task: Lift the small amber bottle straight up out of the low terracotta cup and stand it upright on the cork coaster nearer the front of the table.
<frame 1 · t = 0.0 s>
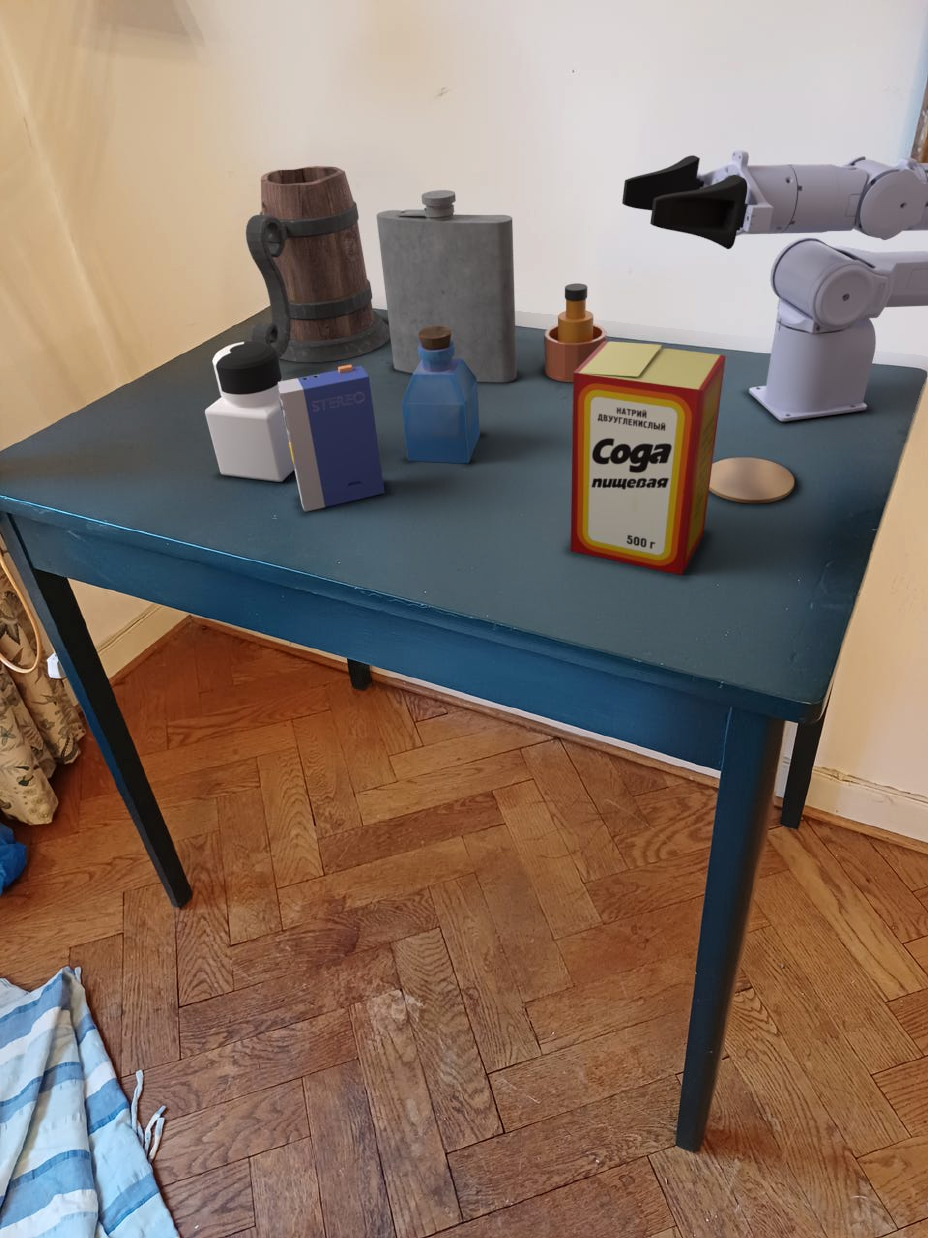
hand: (638, 201, 78), 22 cm above the table, tool horizontal, fingers open, 7 cm apart
medicine bottle: (268, 464, 90), on the table
baking soda box: (637, 544, 75), on the table
tankard: (316, 348, 116), on the table
walkman: (342, 498, 84), on the table
hip flask: (452, 374, 106), on the table
cup: (574, 370, 104), on the table
bottle: (574, 366, 104), resting on cup
coaster: (748, 481, 81), on the table
perfume bottle: (444, 449, 91), on the table
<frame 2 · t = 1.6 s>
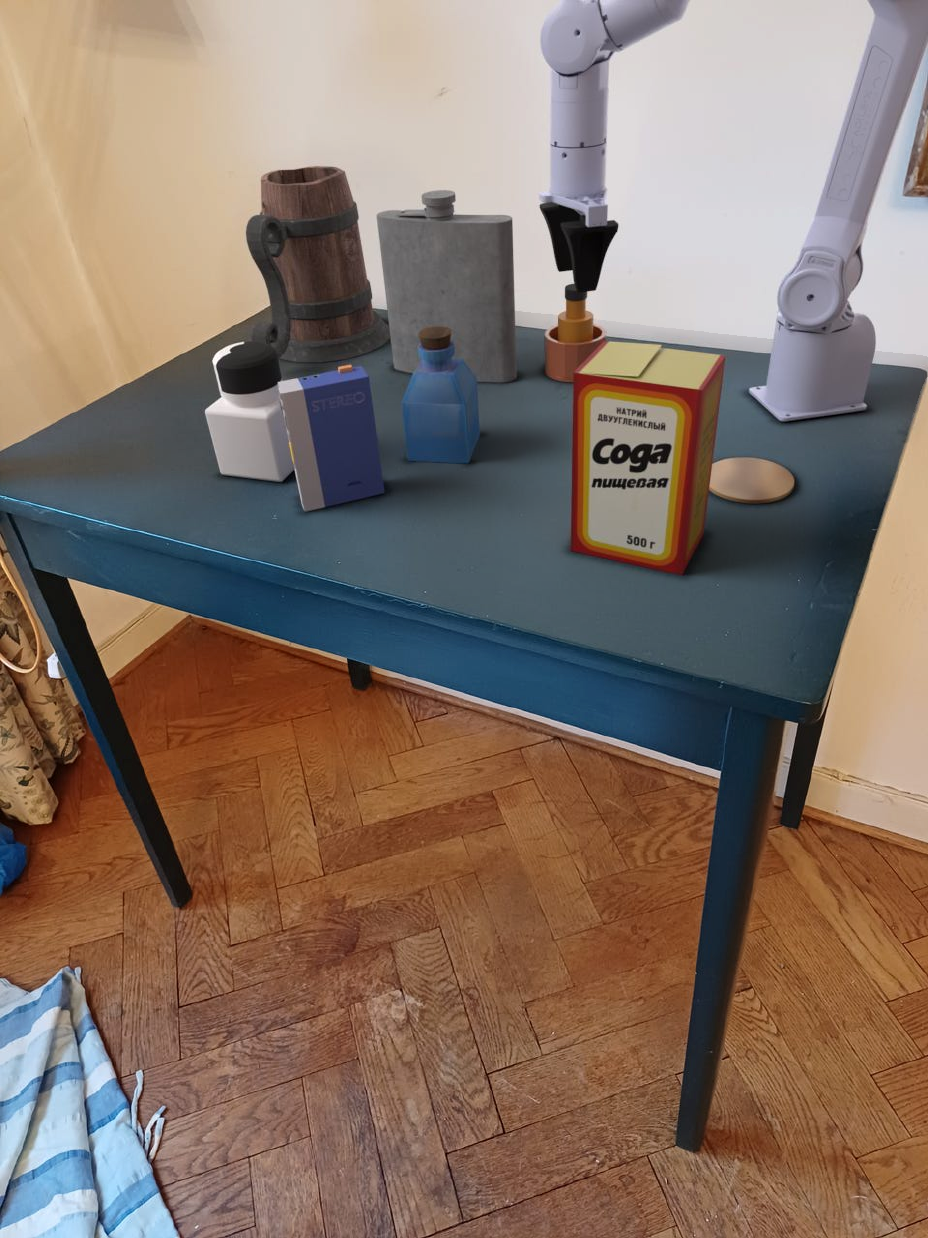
hand: (576, 279, 98), 10 cm above the table, tool pointing down, fingers open, 7 cm apart
nothing on the table moved.
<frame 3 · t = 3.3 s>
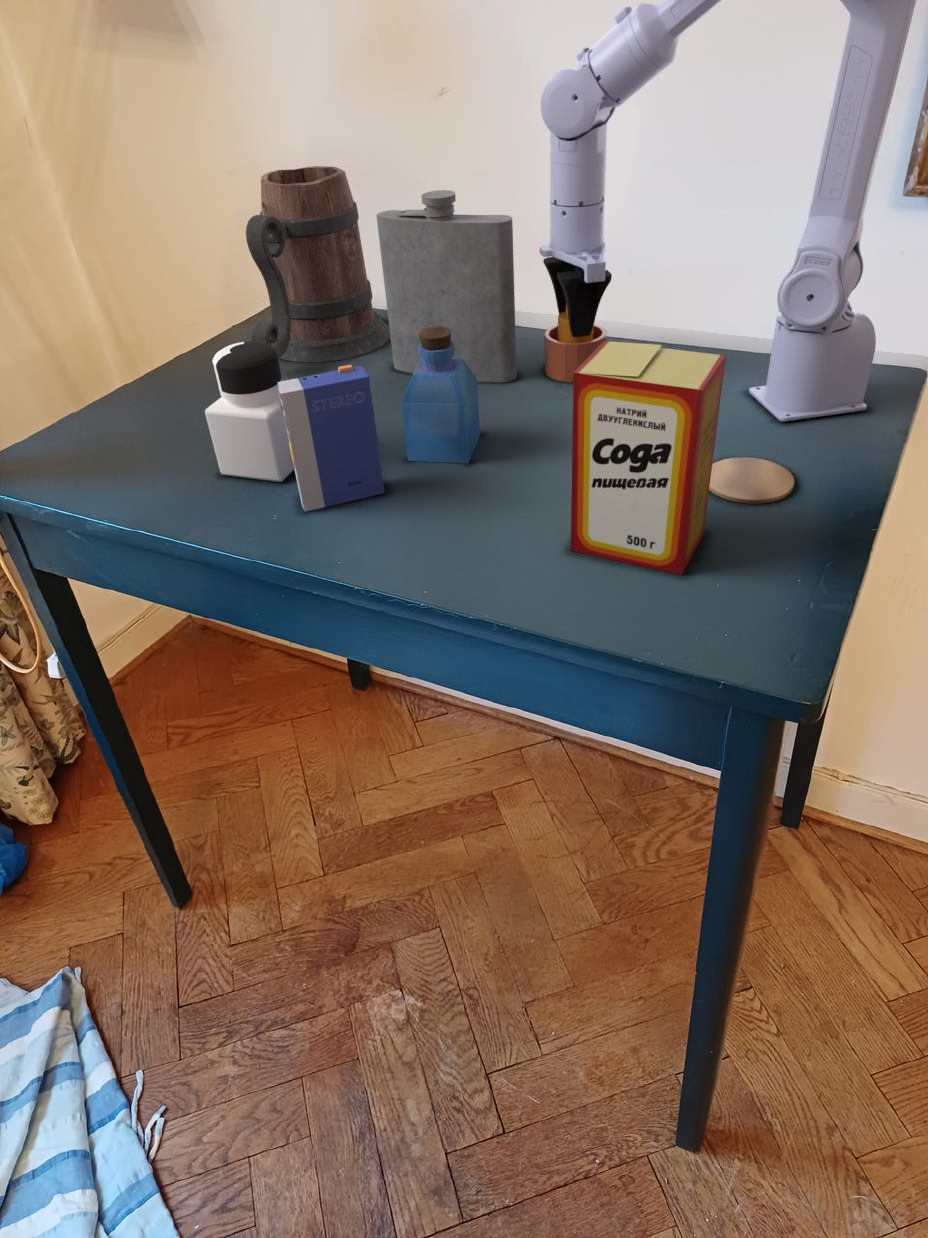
hand: (575, 328, 101), 5 cm above the table, tool pointing down, fingers closed on bottle, 4 cm apart
bottle: (574, 366, 104), point 1 cm above the table, touching cup, gripper
everything else where it was.
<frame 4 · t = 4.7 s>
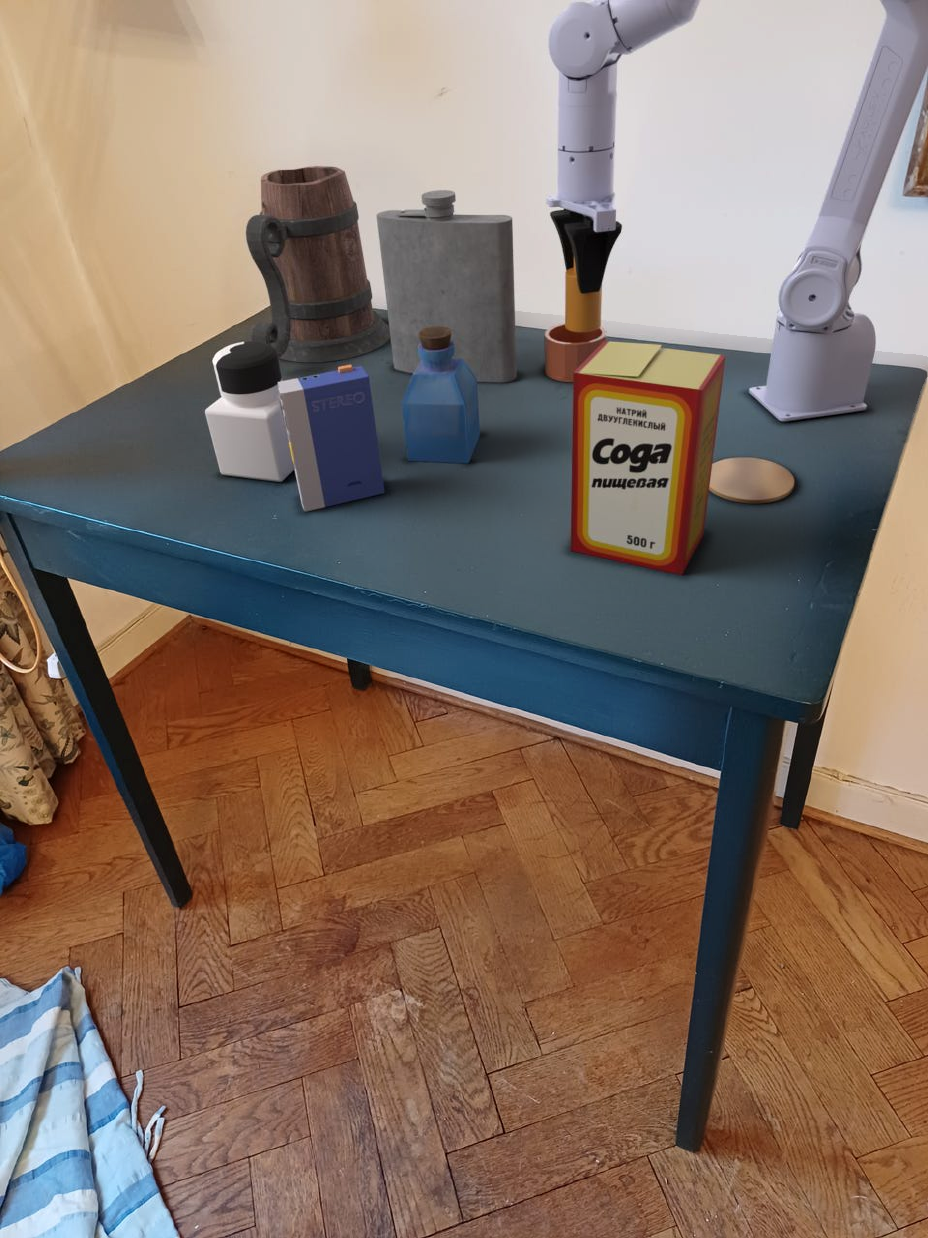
hand: (583, 285, 97), 10 cm above the table, tool pointing down, fingers closed on bottle, 4 cm apart
bottle: (582, 326, 99), point 6 cm above the table, touching gripper
everything else where it was.
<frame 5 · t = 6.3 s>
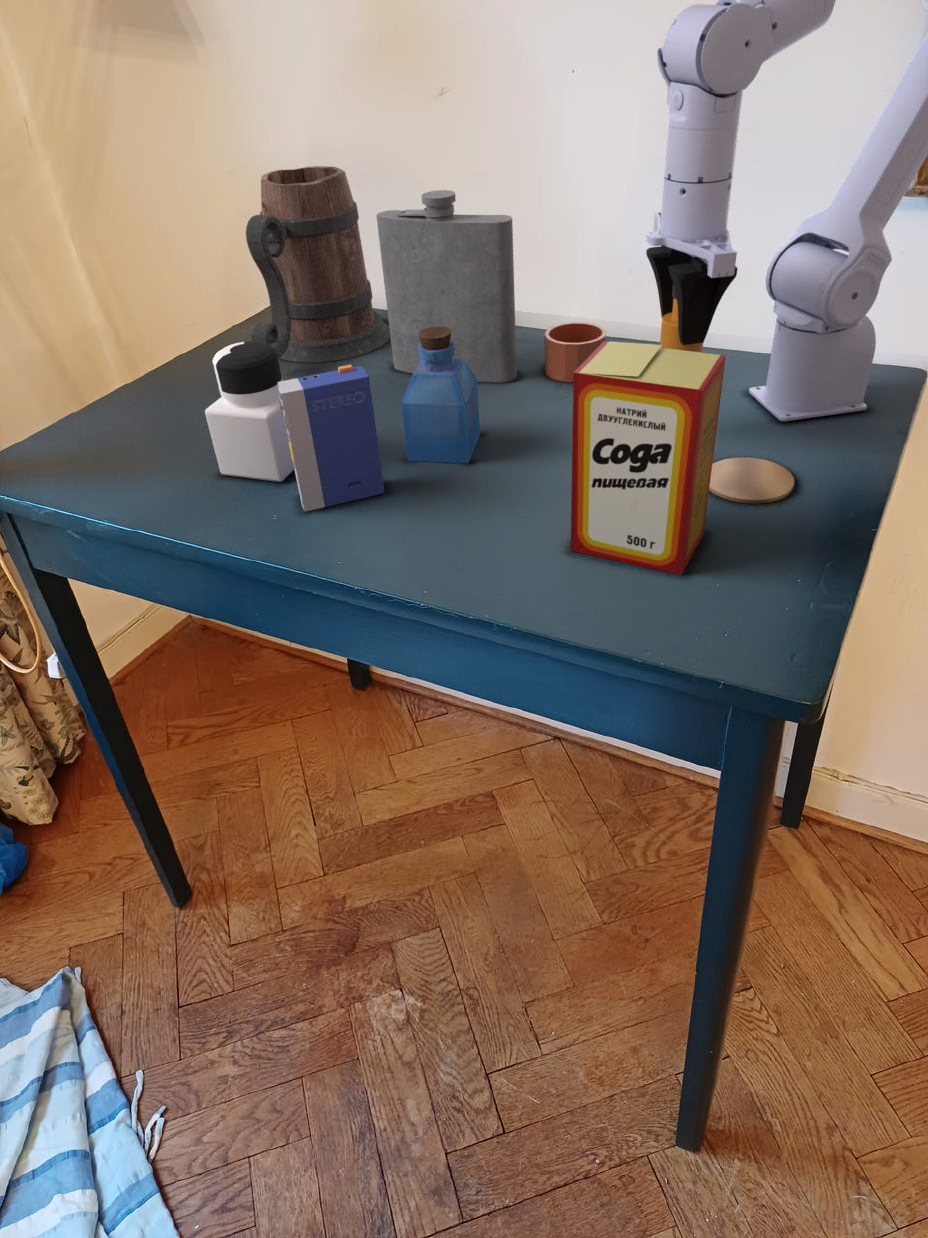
hand: (682, 333, 83), 10 cm above the table, tool pointing down, fingers closed on bottle, 4 cm apart
bottle: (678, 379, 86), point 6 cm above the table, touching gripper
everything else where it was.
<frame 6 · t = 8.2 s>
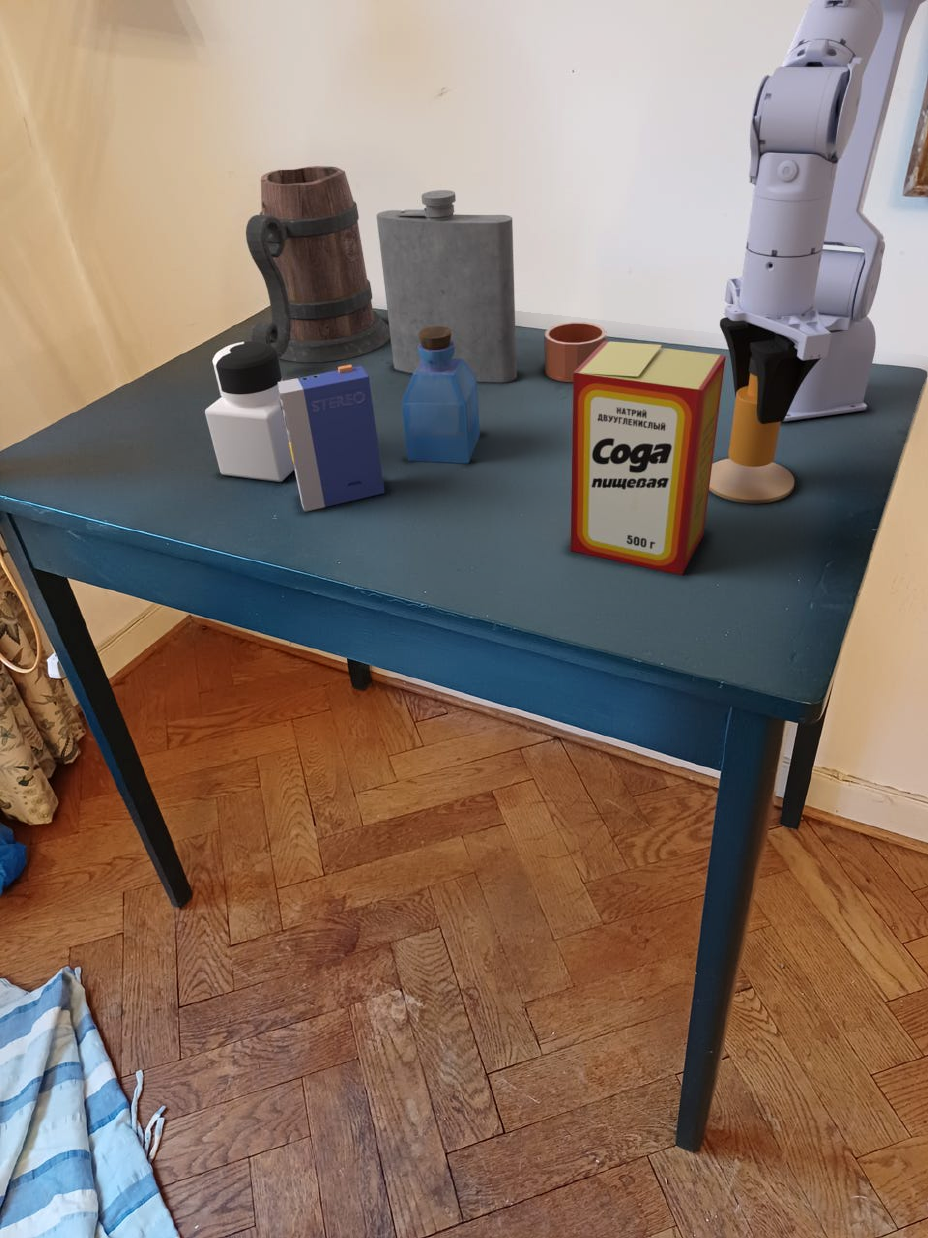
hand: (759, 409, 77), 7 cm above the table, tool pointing down, fingers closed on bottle, 4 cm apart
bottle: (751, 456, 80), point 3 cm above the table, touching gripper
everything else where it was.
when the fingers open (5 cm above the table, at t = 9.4 s): bottle stays where it is, resting on coaster.
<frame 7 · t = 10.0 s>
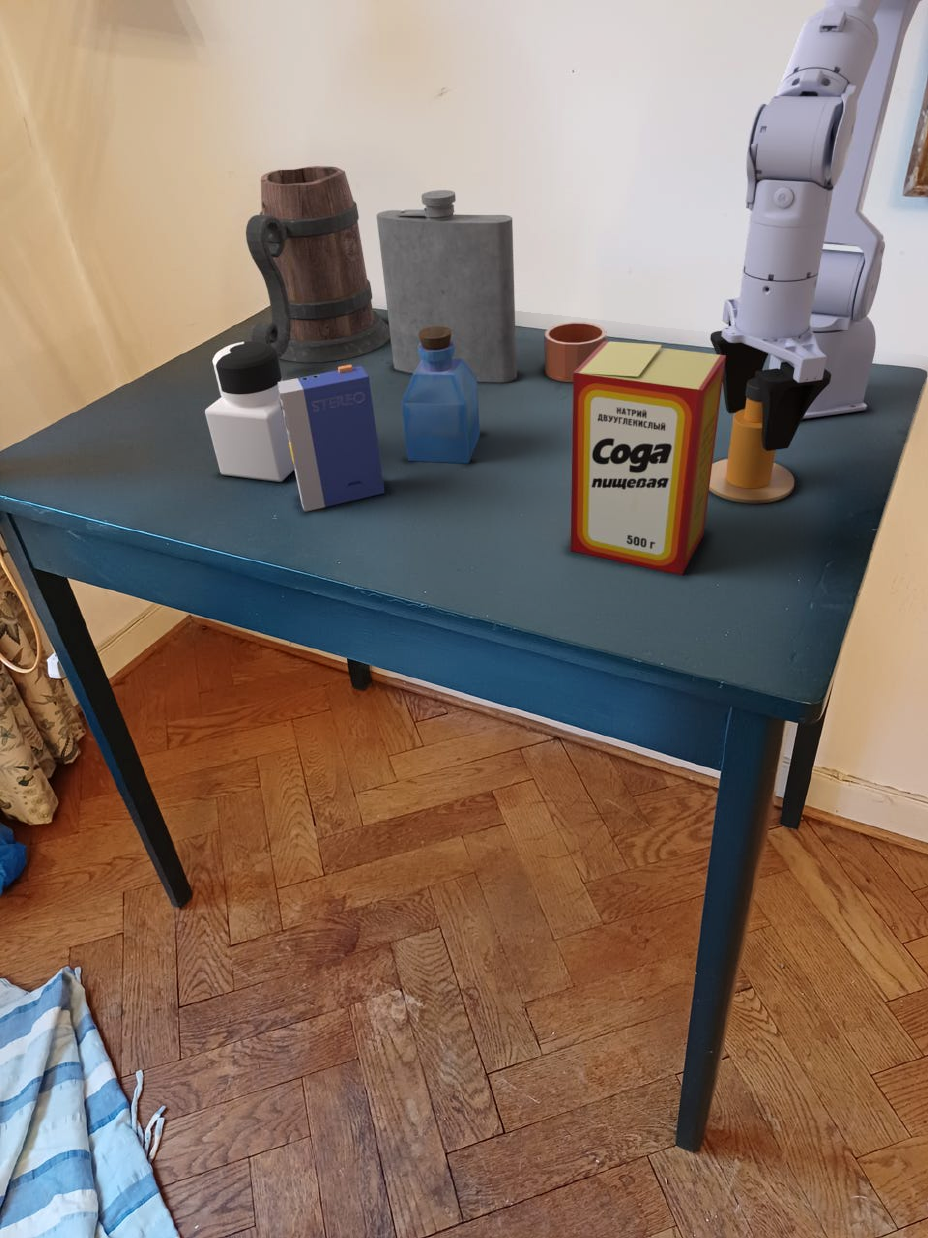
hand: (756, 428, 78), 5 cm above the table, tool pointing down, fingers open, 7 cm apart
bottle: (747, 478, 81), resting on coaster
everything else where it was.
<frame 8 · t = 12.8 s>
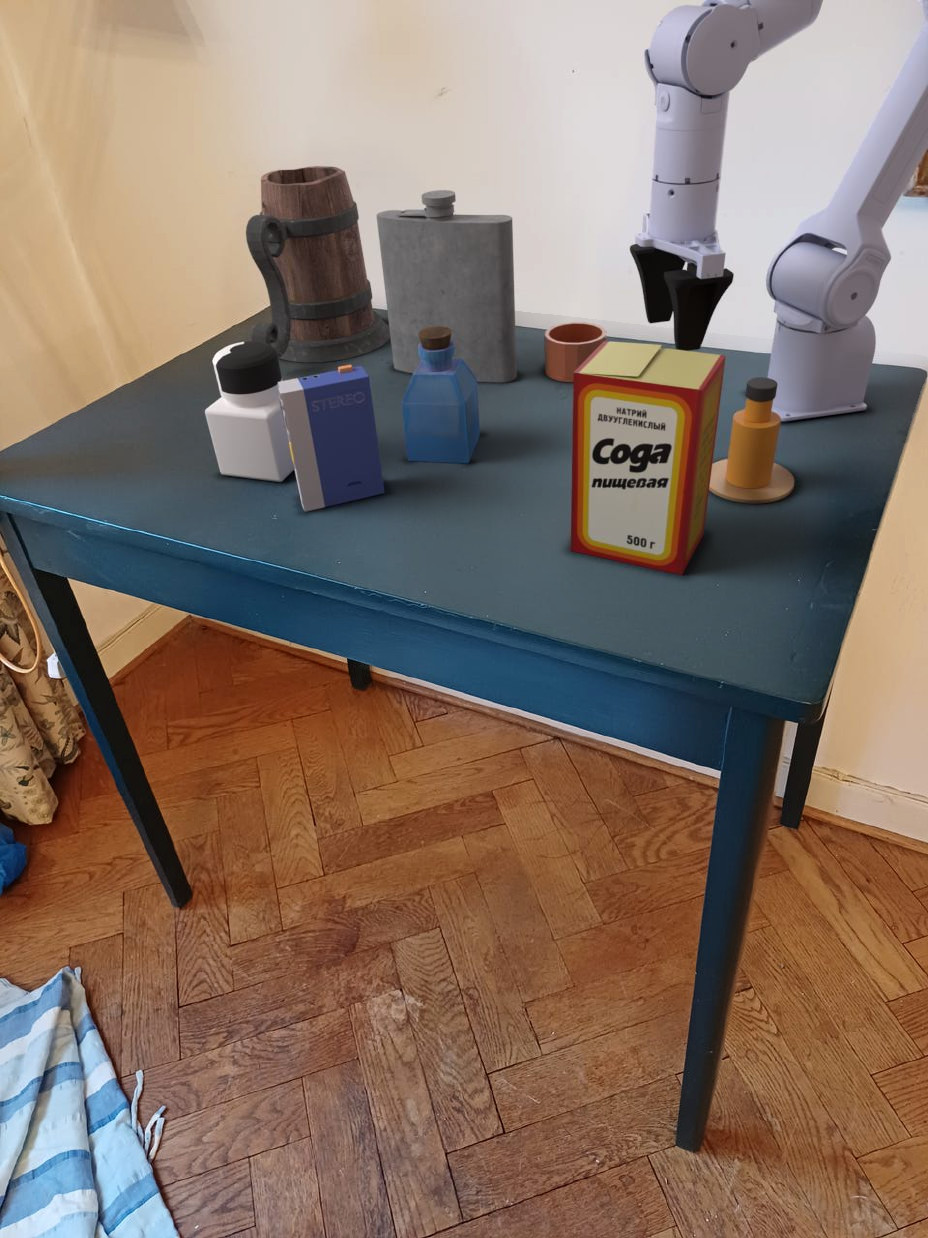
hand: (672, 334, 83), 10 cm above the table, tool pointing down, fingers open, 7 cm apart
nothing on the table moved.
at the end: bottle 0.1 cm off-centre on the coaster, point 0.4 cm above the coaster's base; bottle tilted 0°; bottle touching coaster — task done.
